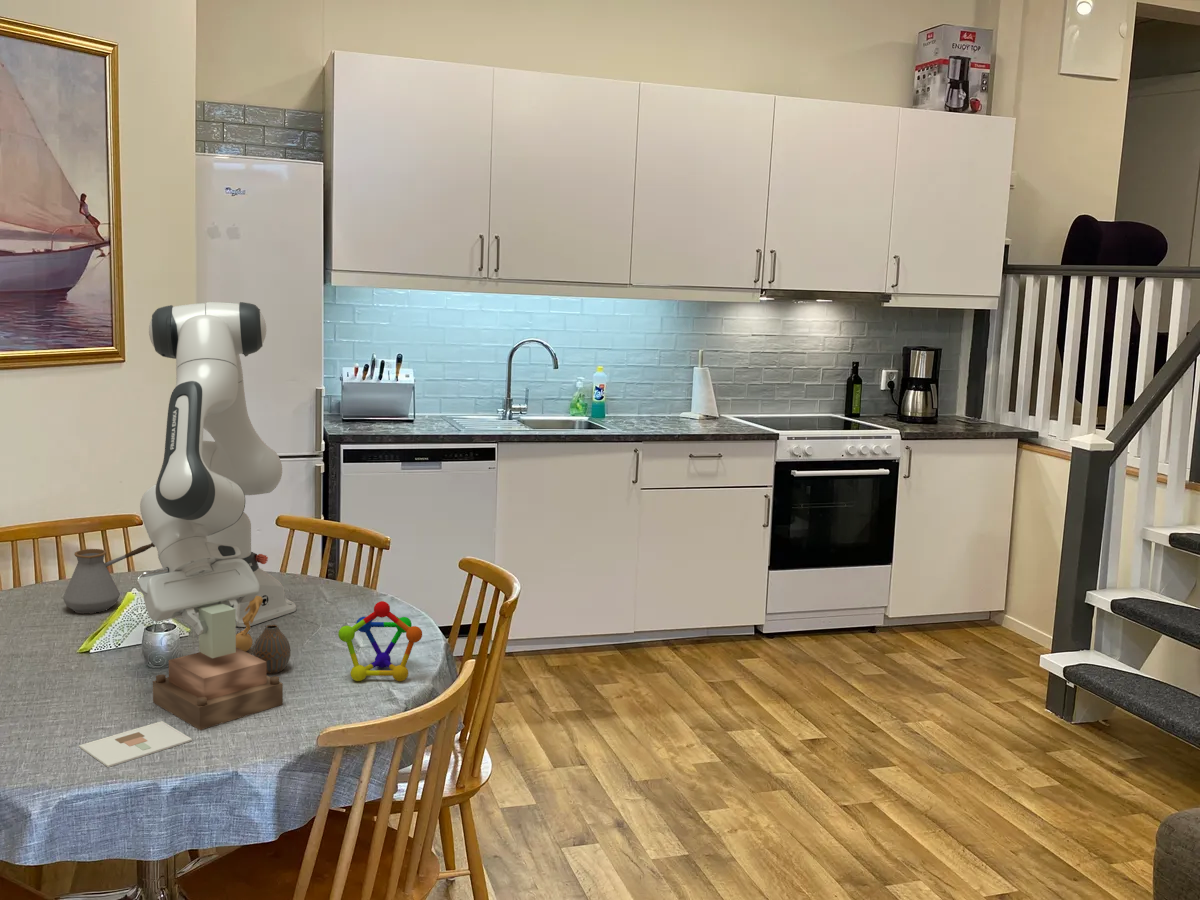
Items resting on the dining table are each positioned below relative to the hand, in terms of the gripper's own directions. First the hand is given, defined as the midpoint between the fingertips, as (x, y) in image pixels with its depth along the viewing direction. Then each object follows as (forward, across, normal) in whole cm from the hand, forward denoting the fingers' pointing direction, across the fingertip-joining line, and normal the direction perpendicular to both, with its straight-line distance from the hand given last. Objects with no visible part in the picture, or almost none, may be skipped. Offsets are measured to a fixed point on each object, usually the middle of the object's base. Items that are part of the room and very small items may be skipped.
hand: (218, 629), depth 193 cm
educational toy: (+15, +30, +6) cm, 34 cm away
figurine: (-5, +18, +25) cm, 31 cm away
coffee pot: (-36, +12, +56) cm, 67 cm away
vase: (+4, +16, +16) cm, 23 cm away
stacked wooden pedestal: (+10, 0, +10) cm, 14 cm away
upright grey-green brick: (+3, 0, +4) cm, 4 cm away
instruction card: (+14, -18, +6) cm, 23 cm away
